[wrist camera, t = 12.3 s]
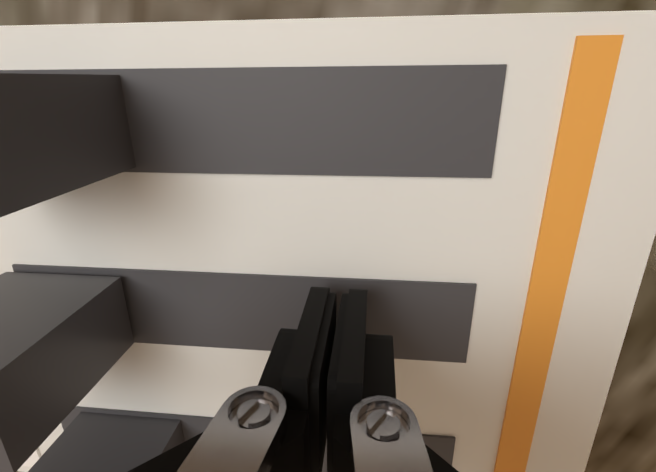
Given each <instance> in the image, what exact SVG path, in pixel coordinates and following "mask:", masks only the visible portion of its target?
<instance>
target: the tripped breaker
mask: <svg viewBox="0 0 656 472" xmlns="http://www.w3.org/2000/svg"><path fill="white" fill-rule="evenodd" d="M133 343H134V339H133V334H132V329H131V324H130V320H129V315H128V310H127V306H126V301H125V296H124V291H123V287H122V282H121V277H113V276H91V275H68V274H46V273H23V272H5V273H3V274H1V275H0V472H16V471H17V470H18V469H19V468H20V467H21V466H22V465H23V464H24V463H25V462H26V460H27V459H28V458H29V457H30V456H31V455H32V454H33V453H34V452H35V451H36V450H37V448H38V447H39V446H40V445H41V444H42V443H43V442H44V441H45V440H46V439H47V438H48V436H49V435H50V434H51V433H52V432H53V431H54V430H55V429H56V428H57V427H58V425H59V424H60V423H61V422H62V421H63V420H64V419H65V418H66V417H67V416H68V415H69V413H70V412H71V411H72V410H73V409H74V408H75V407H76V406H77V405H78V404H79V403H80V401H81V400H82V399H83V398H84V397H85V396H86V395H87V394H88V393H89V392H90V390H91V389H92V388H93V387H94V386H95V385H96V384H97V383H98V382H99V381H100V380H101V378H102V377H103V376H104V375H105V374H106V373H107V372H108V371H109V370H110V369H111V368H112V366H113V365H114V364H115V363H116V362H117V361H118V360H119V359H120V358H121V357H122V355H123V354H124V353H125V352H126V351H127V350H128V349H129V348H130V347H131V346H132V345H133Z"/></svg>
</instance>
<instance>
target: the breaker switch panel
mask: <svg viewBox="0 0 656 472" xmlns="http://www.w3.org/2000/svg"><path fill="white" fill-rule="evenodd" d="M655 234H656V10H645V11H603V12H562V13H520V14H478V15H436V16H394V17H353V18H311V19H269V20H227V21H185V22H144V23H102V24H60V25H18V26H0V275H1V274H3V273H5V272H23V273H46V274H68V275H91V276H113V277H121V282H122V287H123V291H124V296H125V301H126V306H127V310H128V315H129V320H130V324H131V329H132V334H133V339H134V343H133V345H132V346H131V347H130V348H129V349H128V350H127V351H126V352H125V353H124V354H123V355H122V357H121V358H120V359H119V360H118V361H117V362H116V363H115V364H114V365H113V366H112V368H111V369H110V370H109V371H108V372H107V373H106V374H105V375H104V376H103V377H102V378H101V380H100V381H99V382H98V383H97V384H96V385H95V386H94V387H93V388H92V389H91V390H90V392H89V393H88V394H87V395H86V396H85V397H84V398H83V399H82V400H81V401H80V403H79V404H78V405H77V406H76V407H75V408H74V409H73V410H72V411H71V412H70V413H69V415H68V416H67V417H66V418H65V419H64V420H63V421H62V422H61V423H60V424H59V425H58V427H57V428H56V429H55V430H54V431H53V432H52V433H51V434H50V435H49V436H48V438H47V439H46V440H45V441H44V442H43V443H42V444H41V445H40V446H39V447H38V448H37V450H36V451H35V452H34V453H33V454H32V455H31V456H30V457H29V458H28V459H27V460H26V462H25V463H24V464H23V465H22V466H21V467H20V468H19V469H18V470H17V471H23V472H128V471H130V470H131V469H133V468H135V467H137V466H139V465H141V464H143V463H145V462H147V461H149V460H151V459H152V458H154V457H156V456H158V455H160V454H162V453H164V452H166V451H168V450H170V449H172V448H173V447H175V446H177V445H179V444H181V443H183V442H185V441H187V440H189V439H191V438H193V437H194V436H196V435H198V434H200V433H202V432H204V431H205V429H206V428H207V426H208V425H209V424H210V422H211V421H212V419H213V418H214V416H215V415H216V413H217V412H218V410H219V409H220V407H221V406H222V405H223V403H224V402H225V401H226V400H227V399H228V397H229V396H230V395H232V394H233V393H235V392H237V391H238V390H241V389H243V388H246V387H251V386H258V383H259V381H260V378H261V375H262V373H263V370H264V368H265V365H266V363H267V360H268V358H269V355H270V353H271V350H272V347H273V345H274V342H275V340H276V337H277V335H278V332H279V330H280V329H281V328H286V329H297V328H298V325H299V322H300V319H301V316H302V313H303V310H304V306H305V303H306V300H307V297H308V294H309V291H310V288H311V287H328V288H330V292H331V293H336V295H337V309H336V324H337V318H338V312H339V307H340V301H341V295H342V293H349V289H365V290H368V293H367V319H366V334H377V335H392V336H393V348H394V366H395V384H396V399H398V400H400V401H402V402H403V403H405V404H407V405H408V406H409V407H410V408H411V409H412V410H413V412H414V414H415V416H416V418H417V420H418V423H419V427H420V430H421V433H422V437H423V440H424V443H425V444H426V445H427V446H428V447H429V448H431V449H432V450H433V451H434V452H435V453H437V454H438V455H439V456H440V457H442V458H443V459H444V460H445V461H446V462H448V463H449V464H450V465H451V466H452V467H454V468H455V469H456V470H457V471H459V472H585V468H586V465H587V462H588V458H589V455H590V452H591V448H592V445H593V442H594V438H595V435H596V432H597V428H598V425H599V421H600V418H601V415H602V411H603V408H604V405H605V401H606V398H607V395H608V391H609V388H610V385H611V381H612V378H613V374H614V371H615V368H616V364H617V361H618V358H619V354H620V351H621V348H622V344H623V341H624V338H625V334H626V331H627V328H628V324H629V321H630V317H631V314H632V311H633V307H634V304H635V301H636V297H637V294H638V291H639V287H640V284H641V281H642V277H643V274H644V270H645V267H646V264H647V260H648V257H649V254H650V250H651V247H652V244H653V240H654V237H655ZM322 472H327V440H326V447H325V454H324V461H323V468H322Z"/></svg>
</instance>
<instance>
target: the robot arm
mask: <svg viewBox="0 0 656 472" xmlns="http://www.w3.org/2000/svg"><path fill="white" fill-rule="evenodd" d="M367 293H368V290H365V289H349V293H342V295H341V301H340V307H339V312H338V318H337V324H336V309H337V295H336V293H331V292H330V288H328V287H311V288H310V291H309V294H308V297H307V300H306V303H305V306H304V310H303V313H302V316H301V319H300V322H299V325H298V328H297V329H286V328H281V329H280V330H279V332H278V335H277V337H276V340H275V342H274V345H273V347H272V350H271V353H270V355H269V358H268V360H267V363H266V365H265V368H264V370H263V373H262V375H261V378H260V381H259V383H258V386H251V387H246V388H243V389H241V390H238V391H237V392H235V393H233V394H232V395H230V396H229V397H228V399H227V400H226V401H225V402H224V403H223V405H222V406H221V407H220V409H219V410H218V412H217V413H216V415H215V416H214V418H213V419H212V421H211V422H210V424H209V425H208V426H207V428H206V429H205V431H204V432H202V433H200V434H198V435H196V436H194V437H193V438H191V439H189V440H187V441H185V442H183V443H181V444H179V445H177V446H175V447H173V448H172V449H170V450H168V451H166V452H164V453H162V454H160V455H158V456H156V457H154V458H152V459H151V460H149V461H147V462H145V463H143V464H141V465H139V466H137V467H135V468H133V469H131V470H130V471H128V472H322V468H323V461H324V454H325V447H326V440H327V472H459V471H457V470H456V469H455V468H454V467H452V466H451V465H450V464H449V463H448V462H446V461H445V460H444V459H443V458H442V457H440V456H439V455H438V454H437V453H435V452H434V451H433V450H432V449H431V448H429V447H428V446H427V445H426V444H425V443H424V440H423V437H422V433H421V430H420V427H419V423H418V420H417V418H416V416H415V414H414V412H413V410H412V409H411V408H410V407H409V406H408V405H407V404H405V403H403V402H402V401H400V400H398V399H396V384H395V366H394V348H393V336H392V335H377V334H366V319H367Z"/></svg>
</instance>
